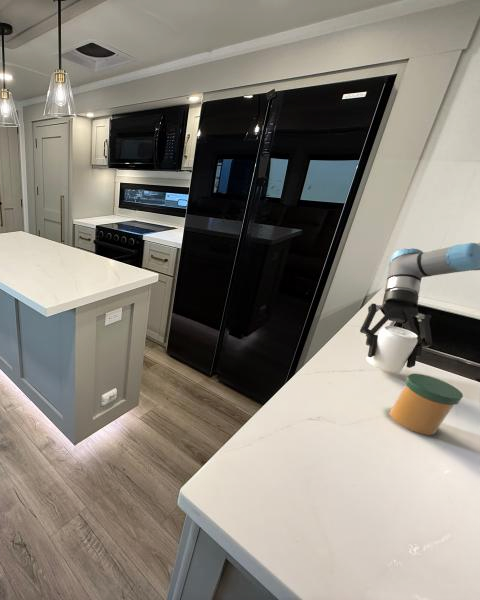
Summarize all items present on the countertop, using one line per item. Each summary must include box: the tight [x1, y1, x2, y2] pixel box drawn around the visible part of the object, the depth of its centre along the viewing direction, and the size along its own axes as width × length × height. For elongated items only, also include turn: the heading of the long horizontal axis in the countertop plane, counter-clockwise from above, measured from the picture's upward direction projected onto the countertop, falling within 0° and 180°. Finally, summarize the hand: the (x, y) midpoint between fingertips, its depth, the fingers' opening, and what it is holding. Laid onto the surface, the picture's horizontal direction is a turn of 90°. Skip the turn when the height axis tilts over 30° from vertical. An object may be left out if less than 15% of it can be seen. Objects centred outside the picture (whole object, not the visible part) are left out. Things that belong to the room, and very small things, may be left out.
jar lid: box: [404, 373, 464, 406], centre depth 71 cm, size 9×9×2 cm
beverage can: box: [366, 325, 418, 373], centre depth 92 cm, size 8×8×12 cm
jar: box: [389, 384, 455, 436], centre depth 73 cm, size 8×8×10 cm
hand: (390, 360), depth 90 cm, fingers closed on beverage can, 8 cm apart
